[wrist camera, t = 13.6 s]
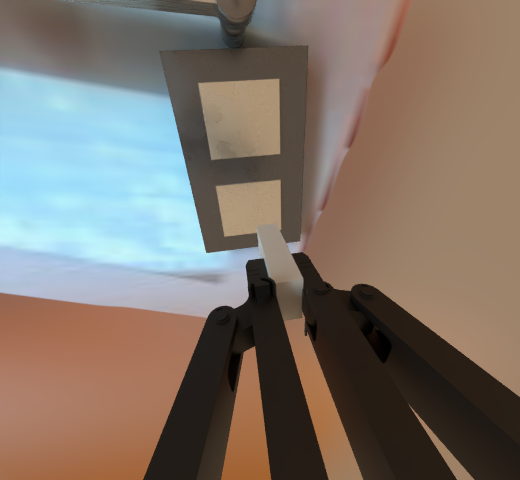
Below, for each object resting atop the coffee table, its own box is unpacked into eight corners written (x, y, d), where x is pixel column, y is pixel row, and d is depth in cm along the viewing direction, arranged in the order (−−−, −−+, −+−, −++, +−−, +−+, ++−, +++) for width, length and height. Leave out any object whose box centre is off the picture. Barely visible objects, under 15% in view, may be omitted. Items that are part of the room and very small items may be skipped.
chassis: (158, 16, 19) (136, -18, 15) (299, 13, 21) (320, -20, 16) (208, 242, 32) (204, 262, 27) (294, 232, 33) (305, 249, 28)
